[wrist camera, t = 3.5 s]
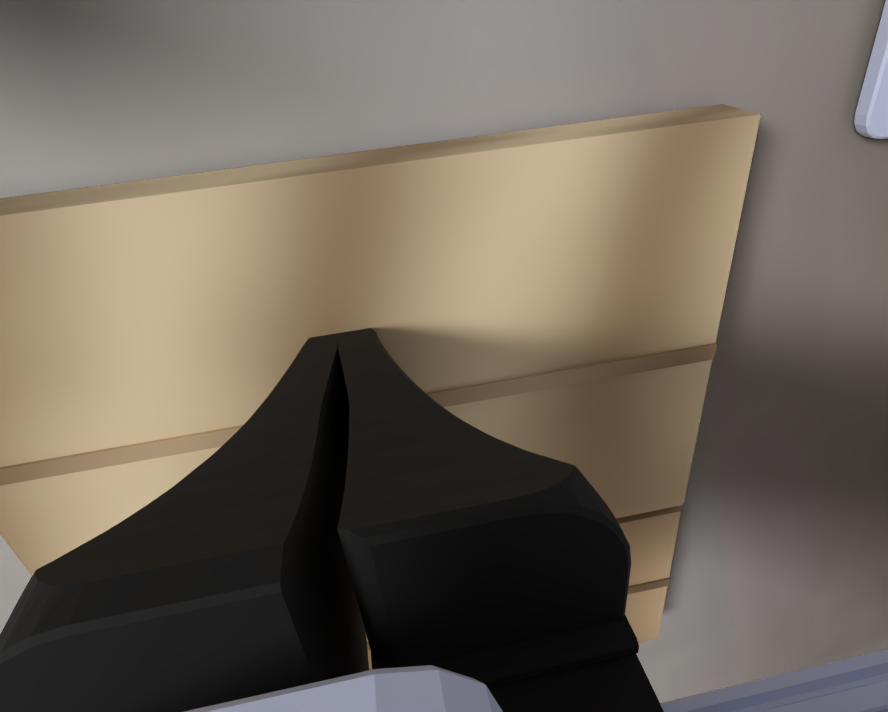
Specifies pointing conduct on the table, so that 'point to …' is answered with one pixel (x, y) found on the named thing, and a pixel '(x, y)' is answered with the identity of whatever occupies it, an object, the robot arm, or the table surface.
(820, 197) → the table surface
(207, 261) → the slatted wooden panel
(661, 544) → the laid floor strip
